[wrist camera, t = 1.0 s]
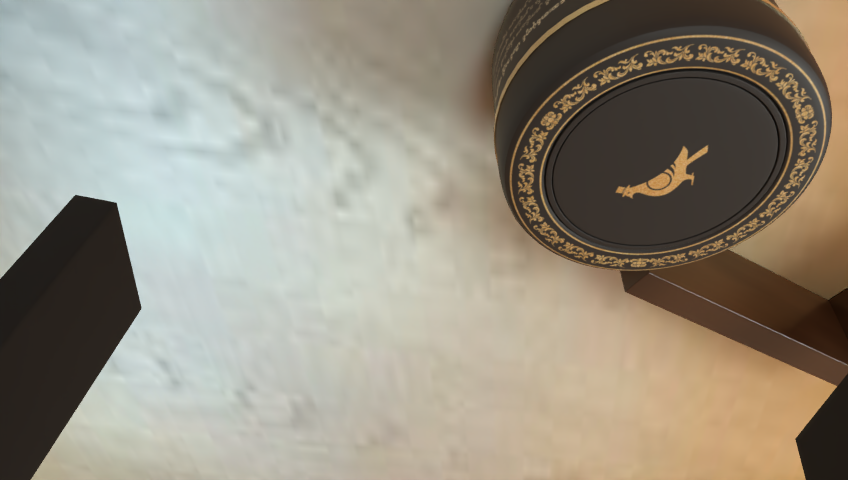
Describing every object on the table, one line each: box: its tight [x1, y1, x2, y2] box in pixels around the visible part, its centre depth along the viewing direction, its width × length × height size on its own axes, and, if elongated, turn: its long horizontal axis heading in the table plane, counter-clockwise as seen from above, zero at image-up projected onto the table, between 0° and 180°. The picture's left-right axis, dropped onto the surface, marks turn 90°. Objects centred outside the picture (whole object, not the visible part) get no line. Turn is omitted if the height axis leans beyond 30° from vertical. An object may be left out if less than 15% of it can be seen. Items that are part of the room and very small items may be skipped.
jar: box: [492, 0, 832, 271], centre depth 24 cm, size 10×10×8 cm
